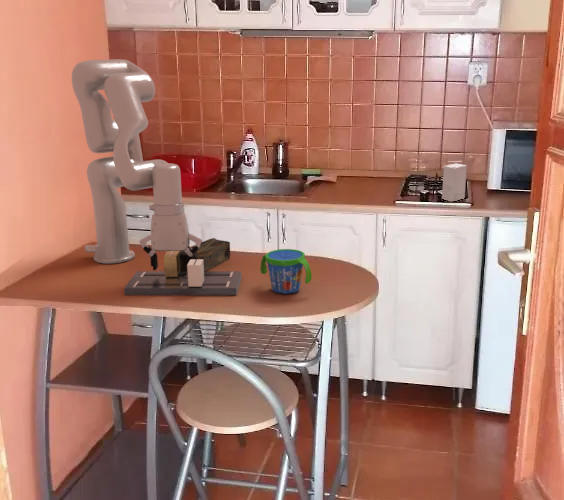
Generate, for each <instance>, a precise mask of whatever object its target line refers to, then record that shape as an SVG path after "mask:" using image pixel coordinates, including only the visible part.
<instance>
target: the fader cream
mask: <svg viewBox="0 0 564 500" xmlns="http://www.w3.org/2000/svg"><path fill="white" fill-rule="evenodd" d="M187 271H188V287H202V284H203V282H204V264H203V259H190V261H189V263H188V265H187Z"/></svg>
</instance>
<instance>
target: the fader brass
mask: <svg viewBox="0 0 564 500" xmlns="http://www.w3.org/2000/svg"><path fill="white" fill-rule="evenodd" d="M163 269H164V271H165V277H178V275H179V273H180V271H181V267H180V251H165V253H164V255H163Z"/></svg>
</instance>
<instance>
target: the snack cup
mask: <svg viewBox="0 0 564 500" xmlns="http://www.w3.org/2000/svg"><path fill="white" fill-rule="evenodd" d="M303 266H304V267H303ZM303 268H304V270H305V279H304V284H306V285H307V284H309V283H310V282H311V280H312V276H313V275H312V270H311V266H310V263H309V262H308V260H307V258H306V253H304V252H303V251H302V250H299V249H291V248H283V249H281V248H280V249H274V250H271V251H268V252H267V253H266V254H264V255H263V256H262V258H261V261H260V274H262V275H265V274H267V273H268V275H269V280H270V285H271V289H272V291H273V292H274V293H277V294H284V295H288V294H294V293H298V292H299V290H300V288H301V282H302V275H303Z"/></svg>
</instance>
